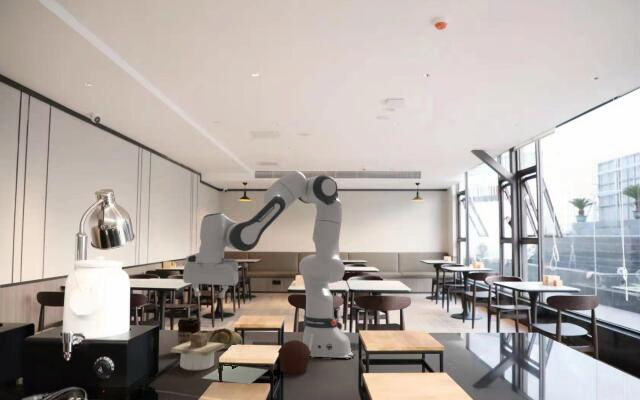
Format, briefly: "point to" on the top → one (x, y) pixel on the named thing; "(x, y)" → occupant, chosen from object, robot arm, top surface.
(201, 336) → the lid
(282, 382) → the top surface
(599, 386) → the top surface
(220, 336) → the pastry
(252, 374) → the mat
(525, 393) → the top surface
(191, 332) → the coffee cup
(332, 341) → the robot arm
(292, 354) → the muffin
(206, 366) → the bowl
